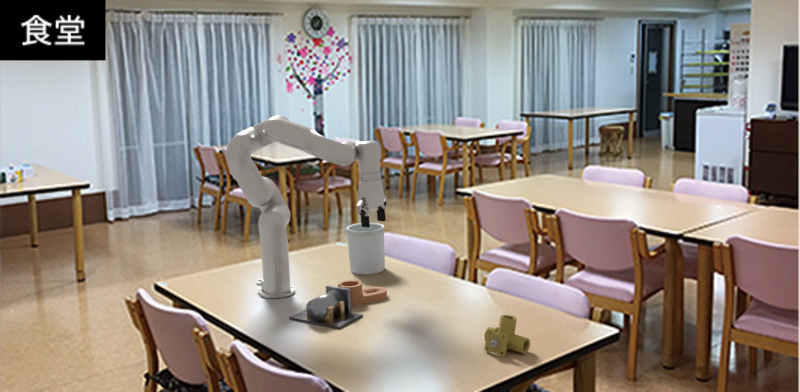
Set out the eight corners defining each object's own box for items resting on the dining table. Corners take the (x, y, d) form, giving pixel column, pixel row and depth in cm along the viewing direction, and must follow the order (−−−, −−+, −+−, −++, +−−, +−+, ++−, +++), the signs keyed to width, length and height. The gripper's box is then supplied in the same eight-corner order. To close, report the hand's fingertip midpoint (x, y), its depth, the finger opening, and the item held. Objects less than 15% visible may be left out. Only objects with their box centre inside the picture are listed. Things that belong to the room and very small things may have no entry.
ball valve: (492, 344, 235) (473, 350, 227) (496, 310, 234) (477, 315, 226) (529, 356, 227) (511, 362, 219) (534, 321, 226) (516, 326, 218)
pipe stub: (289, 319, 259) (288, 294, 258) (316, 306, 271) (314, 283, 269) (339, 329, 249) (338, 303, 247) (364, 315, 260) (363, 291, 259)
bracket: (345, 308, 269) (344, 288, 268) (334, 302, 276) (333, 283, 275) (391, 298, 278) (390, 279, 277) (379, 292, 285) (378, 274, 284)
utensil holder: (371, 277, 304) (370, 232, 301) (340, 272, 312) (338, 228, 309) (393, 267, 316) (391, 224, 313) (362, 263, 324) (361, 221, 321)
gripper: (375, 171, 287) (379, 218, 290) (346, 180, 273) (350, 228, 276) (392, 172, 283) (396, 219, 286) (364, 180, 269) (368, 230, 272)
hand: (373, 223), depth 281 cm, fingers open, 9 cm apart
